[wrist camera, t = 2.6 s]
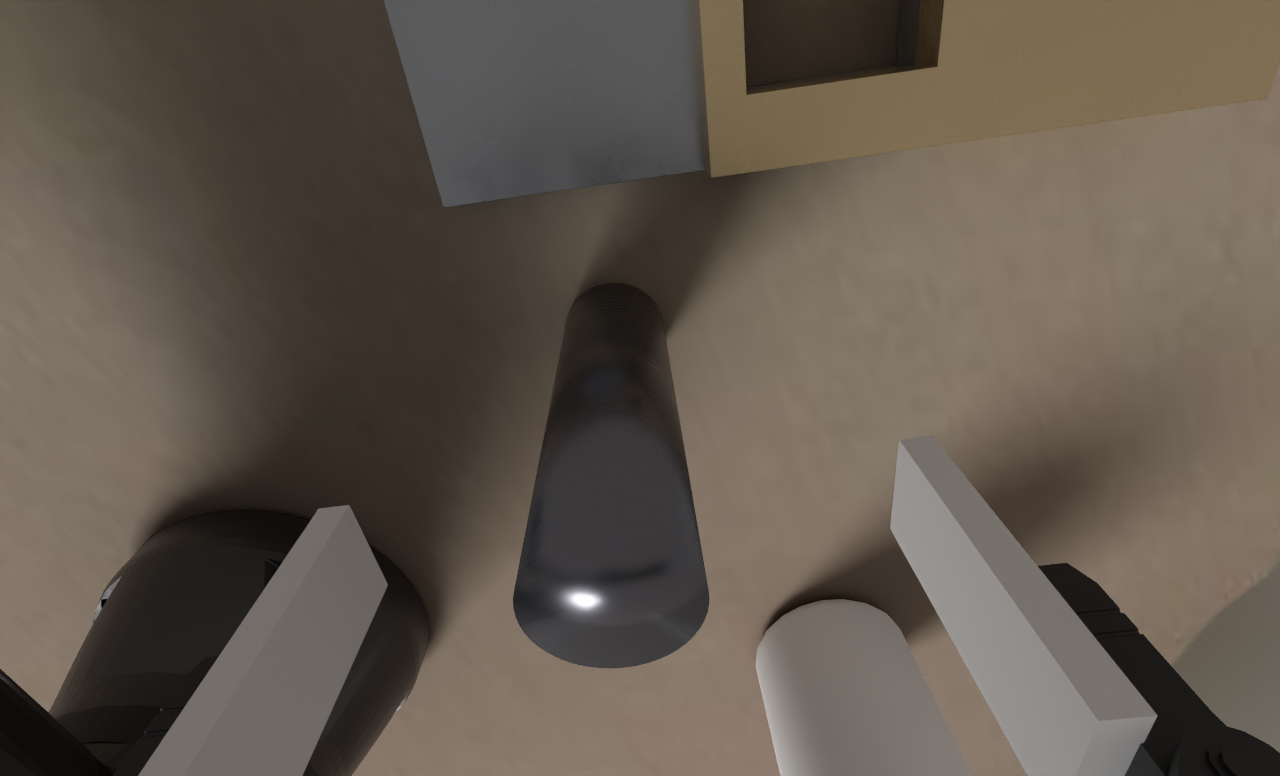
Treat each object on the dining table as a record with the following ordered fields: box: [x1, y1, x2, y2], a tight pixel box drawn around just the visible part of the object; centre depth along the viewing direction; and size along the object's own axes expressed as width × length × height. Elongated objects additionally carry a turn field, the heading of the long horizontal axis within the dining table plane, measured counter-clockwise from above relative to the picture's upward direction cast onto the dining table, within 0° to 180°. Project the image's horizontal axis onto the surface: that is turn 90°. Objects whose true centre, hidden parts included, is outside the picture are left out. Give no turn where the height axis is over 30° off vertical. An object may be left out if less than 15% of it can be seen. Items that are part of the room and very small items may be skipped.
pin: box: [513, 283, 709, 668], centre depth 18 cm, size 4×4×14 cm
